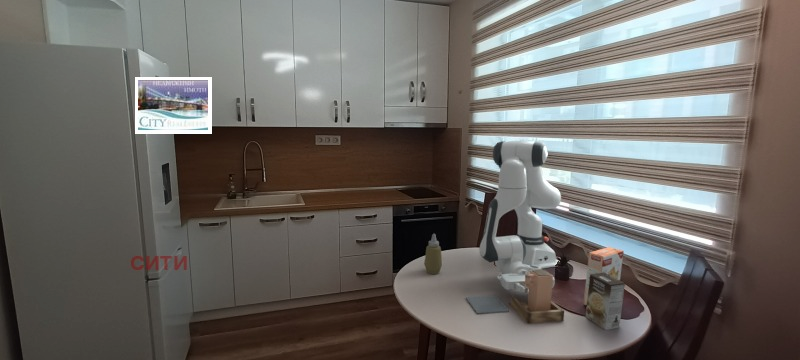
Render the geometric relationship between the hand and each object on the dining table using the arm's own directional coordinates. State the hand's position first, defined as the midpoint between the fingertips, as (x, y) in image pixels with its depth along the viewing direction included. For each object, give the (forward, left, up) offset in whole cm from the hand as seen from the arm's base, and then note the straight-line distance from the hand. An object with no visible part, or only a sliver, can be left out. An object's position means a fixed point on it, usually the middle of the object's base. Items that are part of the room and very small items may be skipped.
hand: (537, 290), depth 132 cm
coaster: (+17, -6, -8) cm, 19 cm away
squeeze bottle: (+29, -39, -8) cm, 49 cm away
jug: (+1, +1, -8) cm, 8 cm away
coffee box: (-18, +11, -8) cm, 23 cm away
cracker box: (-27, -1, -8) cm, 28 cm away
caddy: (+1, +1, -8) cm, 8 cm away
